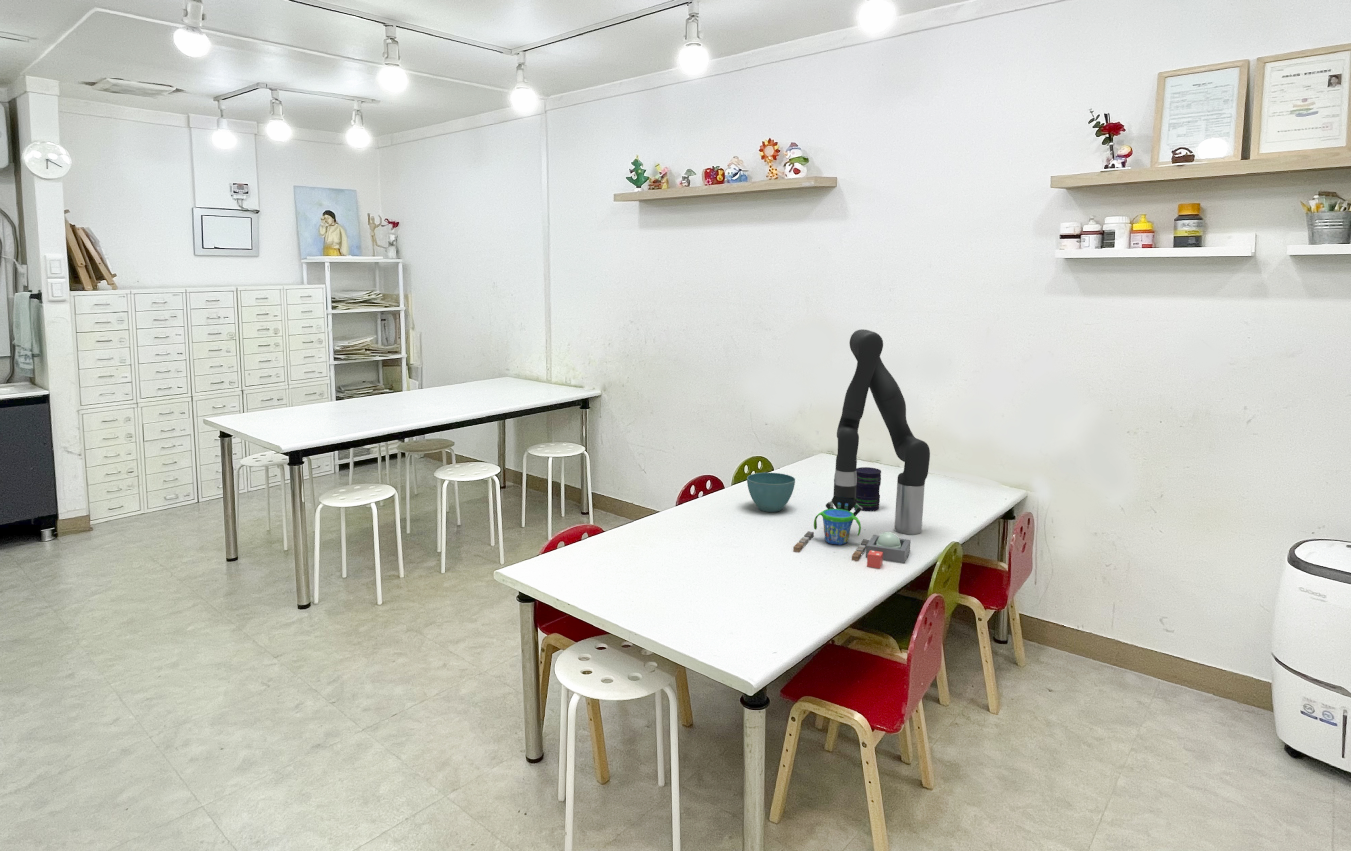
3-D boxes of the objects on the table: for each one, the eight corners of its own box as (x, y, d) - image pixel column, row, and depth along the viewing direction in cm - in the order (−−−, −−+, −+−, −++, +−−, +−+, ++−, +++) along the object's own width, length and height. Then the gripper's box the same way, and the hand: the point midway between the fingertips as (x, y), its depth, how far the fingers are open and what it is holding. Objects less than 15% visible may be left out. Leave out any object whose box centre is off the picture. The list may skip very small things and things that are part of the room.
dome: (878, 548, 267) (879, 527, 266) (902, 552, 264) (903, 530, 263) (873, 555, 260) (875, 534, 259) (898, 559, 257) (899, 537, 256)
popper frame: (872, 546, 270) (873, 534, 269) (909, 551, 265) (910, 539, 264) (865, 557, 259) (866, 545, 259) (904, 563, 254) (904, 551, 254)
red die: (869, 562, 255) (870, 549, 254) (882, 564, 253) (883, 551, 253) (866, 566, 251) (867, 553, 251) (880, 568, 250) (880, 555, 249)
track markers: (807, 535, 280) (808, 531, 280) (869, 544, 272) (869, 539, 272) (793, 551, 264) (793, 546, 264) (857, 561, 256) (858, 556, 256)
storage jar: (851, 510, 311) (853, 472, 308) (854, 503, 320) (856, 466, 317) (878, 512, 308) (880, 474, 305) (880, 505, 317) (882, 468, 314)
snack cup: (863, 541, 275) (865, 512, 273) (854, 550, 266) (855, 520, 264) (819, 533, 282) (820, 505, 280) (808, 542, 273) (810, 513, 271)
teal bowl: (737, 505, 315) (738, 474, 313) (777, 500, 323) (778, 470, 321) (761, 518, 299) (762, 486, 297) (803, 512, 307) (804, 481, 304)
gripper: (866, 482, 280) (864, 530, 283) (828, 478, 285) (826, 525, 288) (862, 487, 273) (859, 536, 276) (823, 483, 278) (821, 531, 282)
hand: (842, 530), depth 282 cm, fingers closed
